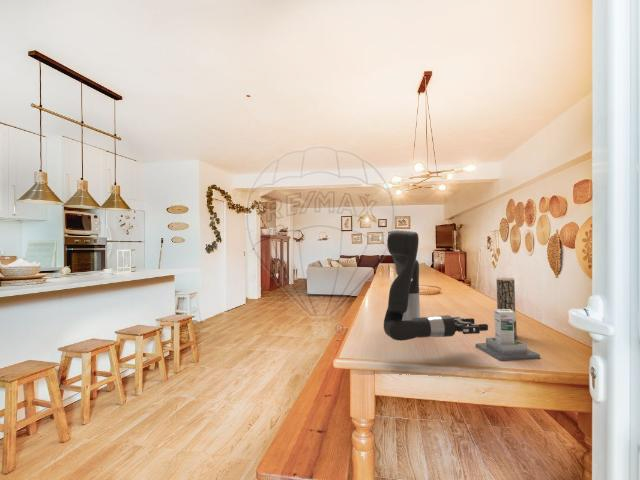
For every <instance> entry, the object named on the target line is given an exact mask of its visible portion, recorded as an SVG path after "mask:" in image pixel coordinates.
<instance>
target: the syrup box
mask: <svg viewBox="0 0 640 480" xmlns="http://www.w3.org/2000/svg"><path fill="white" fill-rule="evenodd" d="M493 313H494V317H493V318H494V335H495V336H494V337H495V340H496V342H498V343H500V344H502V345H509V344H517V340H518V335H517V332H518V331H517V313H516V310H515V311H513V310H511V309H496V308H495V309H494V310H493Z"/></svg>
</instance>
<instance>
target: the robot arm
mask: <svg viewBox="0 0 640 480" xmlns="http://www.w3.org/2000/svg"><path fill="white" fill-rule="evenodd" d="M419 242H420V239H419V233H418V232H416V231H410V230H409V231H408V230H397V229H396V230H392V231H390V233H388V236H387V243H386V244H387V251H388V252H389V254H390V256H392V261H393V263H394V265H395V272H396V275H397V277H396V278H395V279H394V280H393V281H392V283H391V285H390V288H389V292H388V301H387V302H388V303H387V309H386V313H385V315H384V320H383V330H384V333H385V334H386V335H387V336H388V337H389V338H391V339H392V340H394V341H408V340H413V339H416V338H447V337H448V338H449V337H454V336H455V334H456V332H457V333H462V335H475V334H477V335H479V334H480V333H481V332H485V331H489V325H488V324H487V323H479V324H476V323H475V319H474V318H473V317H470V318H463V317H460V316H454V317H453V316H451V315H447V314H446V315H431V316H430V315H429V316H423V317H421V308H420V307H421V306H420V305H421V304H420V286H419V285H420V281H419V280H420V265H419V264H420V263H419V261H418V259H417V256H418V250H419Z"/></svg>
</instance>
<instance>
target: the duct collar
mask: <svg viewBox="0 0 640 480" xmlns="http://www.w3.org/2000/svg"><path fill="white" fill-rule="evenodd" d="M475 348H477V349H479V350H480V351H482V352H484V353H486V354H488V355H489V356H491V357H493V358H495V359H497V360H498V361H501V362H502V361H513V360H515V361H517V360H531V359H533V360H534V359H541V354H539V353H538V352H536V351H533V350H531V349H529V348H528V344H527V343H525V342H523V341H520V340H519V339H517V344H509V345H502V344H500V343H498V342H496V340H495V336H494V337H493V336H492V337H491V336H490V337H485V342H482V343H475Z"/></svg>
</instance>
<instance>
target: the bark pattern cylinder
mask: <svg viewBox="0 0 640 480" xmlns="http://www.w3.org/2000/svg"><path fill="white" fill-rule="evenodd" d="M495 280H496V306H497V307H496V308H497V309H511V310H513V311H515V312H516V294H515V293H516V292H515V291H516V290H515V286H516V285H515V277H508V276H507V277H505V276H504V277H502V276H501V277H496V279H495Z"/></svg>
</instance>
